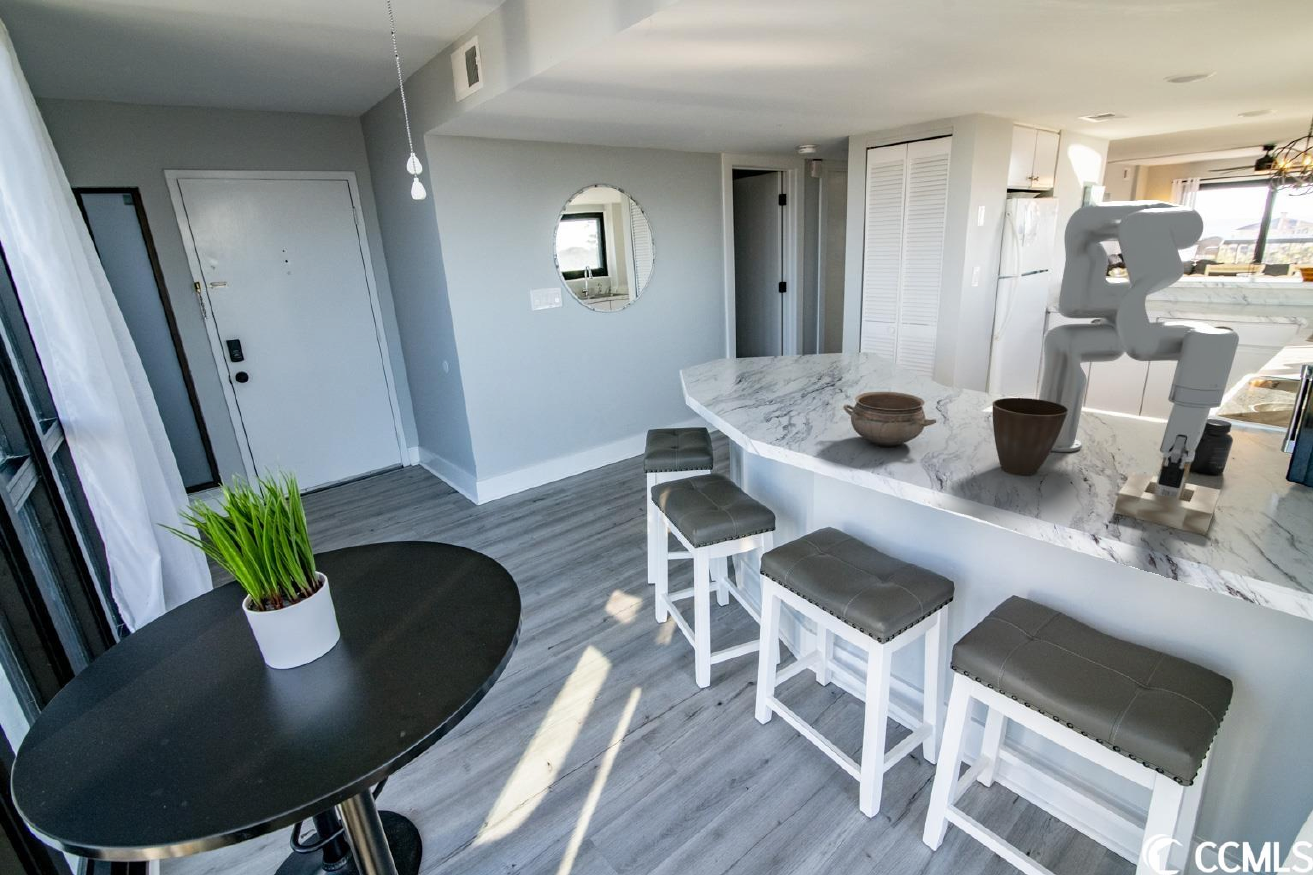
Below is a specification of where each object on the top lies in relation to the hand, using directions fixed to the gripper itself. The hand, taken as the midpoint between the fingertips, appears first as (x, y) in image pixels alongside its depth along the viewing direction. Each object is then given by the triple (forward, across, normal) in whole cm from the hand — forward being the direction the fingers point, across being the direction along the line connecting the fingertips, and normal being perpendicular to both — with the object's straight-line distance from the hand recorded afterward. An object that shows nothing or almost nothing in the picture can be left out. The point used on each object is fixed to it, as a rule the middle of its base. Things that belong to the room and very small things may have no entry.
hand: (1172, 478), depth 117 cm
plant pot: (+7, -5, -28) cm, 29 cm away
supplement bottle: (+7, -31, +3) cm, 32 cm away
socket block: (+7, 0, 0) cm, 7 cm away
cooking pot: (+7, -3, -60) cm, 61 cm away
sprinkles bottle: (+7, 0, 0) cm, 8 cm away
